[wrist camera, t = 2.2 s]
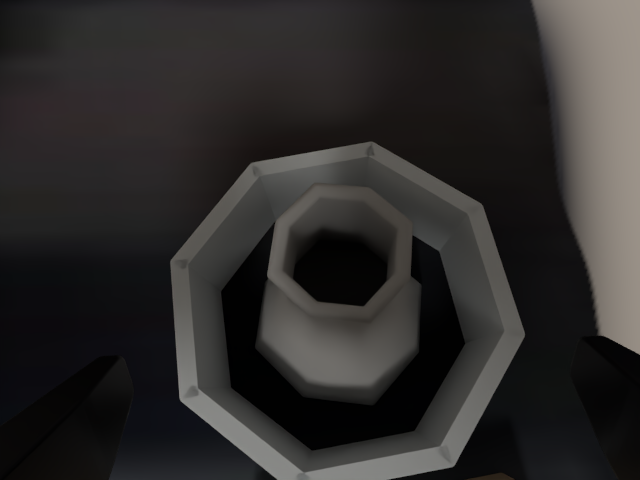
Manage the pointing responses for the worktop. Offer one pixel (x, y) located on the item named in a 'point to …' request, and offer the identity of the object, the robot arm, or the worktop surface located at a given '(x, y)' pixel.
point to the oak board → (493, 477)
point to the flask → (340, 295)
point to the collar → (428, 225)
